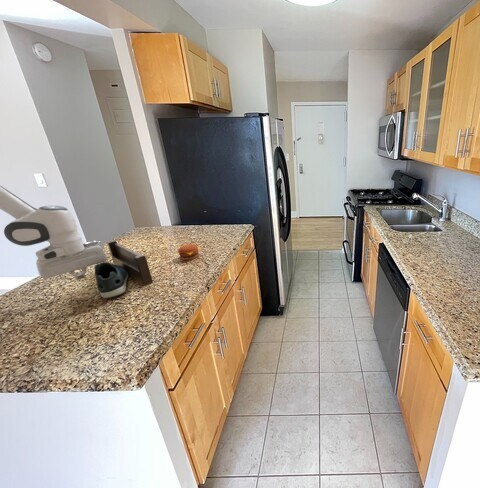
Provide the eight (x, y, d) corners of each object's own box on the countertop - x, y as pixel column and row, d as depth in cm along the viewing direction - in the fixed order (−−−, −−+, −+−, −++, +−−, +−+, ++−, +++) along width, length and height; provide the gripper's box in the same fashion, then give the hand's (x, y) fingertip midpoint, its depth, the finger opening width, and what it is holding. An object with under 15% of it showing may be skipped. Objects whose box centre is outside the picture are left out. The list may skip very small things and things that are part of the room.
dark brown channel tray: (145, 285, 111) (136, 258, 106) (115, 266, 128) (106, 242, 123) (153, 282, 113) (145, 255, 108) (122, 264, 130) (114, 240, 125)
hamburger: (187, 252, 143) (185, 241, 140) (203, 254, 141) (201, 242, 139) (175, 260, 134) (172, 248, 132) (191, 261, 132) (189, 249, 130)
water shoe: (125, 268, 125) (118, 246, 121) (135, 293, 105) (127, 268, 101) (97, 276, 119) (88, 253, 114) (102, 303, 99) (92, 277, 94)
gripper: (98, 237, 110) (108, 267, 115) (29, 254, 94) (44, 287, 99) (104, 241, 107) (114, 270, 112) (33, 258, 91) (48, 292, 96)
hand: (80, 278), depth 105 cm, fingers closed
